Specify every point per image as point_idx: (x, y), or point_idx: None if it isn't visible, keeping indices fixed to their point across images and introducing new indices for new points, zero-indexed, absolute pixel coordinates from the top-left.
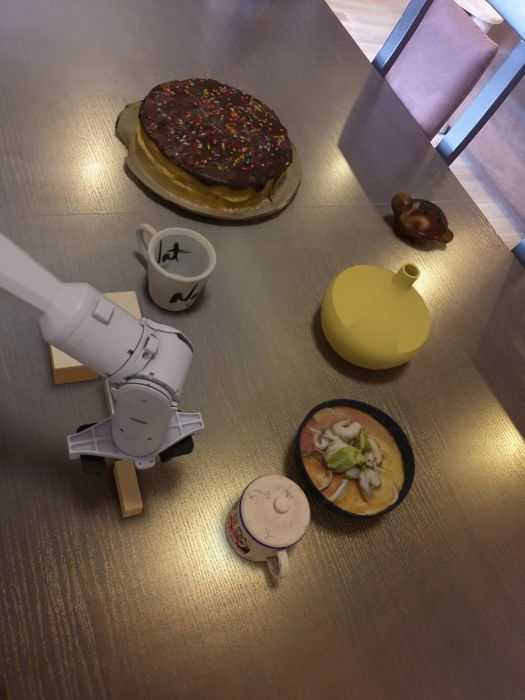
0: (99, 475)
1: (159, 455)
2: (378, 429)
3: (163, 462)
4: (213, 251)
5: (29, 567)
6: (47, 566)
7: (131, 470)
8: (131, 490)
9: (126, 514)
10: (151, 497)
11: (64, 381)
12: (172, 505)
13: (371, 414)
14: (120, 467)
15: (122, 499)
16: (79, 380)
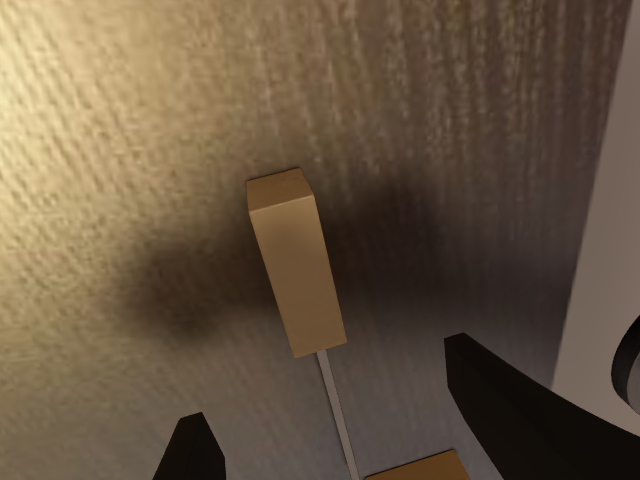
0: (482, 355)
1: (212, 445)
2: None
3: (190, 439)
4: None
5: (571, 15)
6: (525, 14)
7: (296, 324)
8: (294, 264)
9: (296, 179)
10: (213, 233)
11: (439, 462)
12: (136, 211)
13: None
14: (332, 329)
15: (321, 231)
16: (406, 468)
